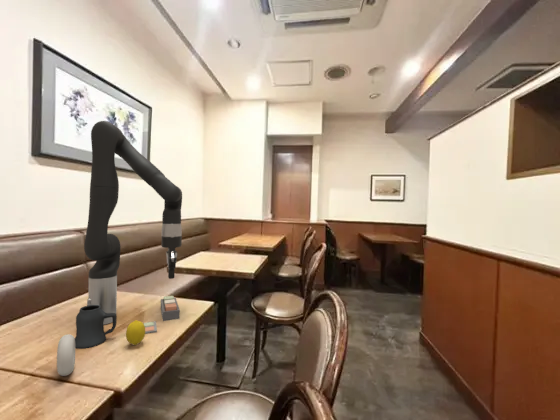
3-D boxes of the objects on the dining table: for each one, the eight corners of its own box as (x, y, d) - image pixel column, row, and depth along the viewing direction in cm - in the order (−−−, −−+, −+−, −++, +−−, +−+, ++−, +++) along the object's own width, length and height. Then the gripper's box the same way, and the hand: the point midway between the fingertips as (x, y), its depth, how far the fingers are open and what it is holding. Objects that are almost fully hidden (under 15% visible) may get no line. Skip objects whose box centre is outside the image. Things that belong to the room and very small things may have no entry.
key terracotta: (165, 313, 111) (165, 307, 111) (165, 310, 115) (165, 304, 115) (176, 312, 113) (176, 306, 113) (175, 309, 117) (175, 303, 117)
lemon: (137, 350, 88) (137, 324, 87) (121, 348, 89) (122, 322, 89) (148, 342, 93) (149, 317, 93) (134, 340, 94) (134, 316, 94)
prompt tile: (141, 334, 98) (141, 332, 98) (141, 324, 106) (141, 322, 106) (156, 332, 100) (156, 329, 100) (156, 322, 108) (156, 320, 108)
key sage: (164, 305, 121) (164, 299, 121) (163, 302, 125) (163, 296, 125) (174, 303, 123) (174, 298, 123) (173, 301, 126) (173, 295, 126)
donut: (60, 366, 78) (61, 330, 78) (75, 362, 80) (76, 327, 80) (55, 385, 70) (55, 345, 70) (72, 381, 72) (73, 341, 71)
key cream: (164, 309, 116) (164, 303, 116) (164, 306, 120) (164, 300, 120) (175, 307, 118) (175, 302, 118) (174, 304, 122) (174, 299, 122)
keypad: (162, 321, 110) (162, 312, 110) (160, 307, 125) (160, 299, 125) (179, 318, 113) (179, 310, 113) (175, 305, 128) (175, 297, 128)
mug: (67, 350, 87) (68, 313, 87) (78, 337, 95) (78, 304, 95) (112, 345, 90) (113, 310, 90) (118, 333, 99) (119, 301, 99)
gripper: (160, 233, 118) (160, 275, 118) (162, 236, 106) (162, 283, 106) (179, 233, 121) (179, 273, 122) (183, 236, 109) (183, 281, 110)
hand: (171, 278), depth 114 cm, fingers closed
